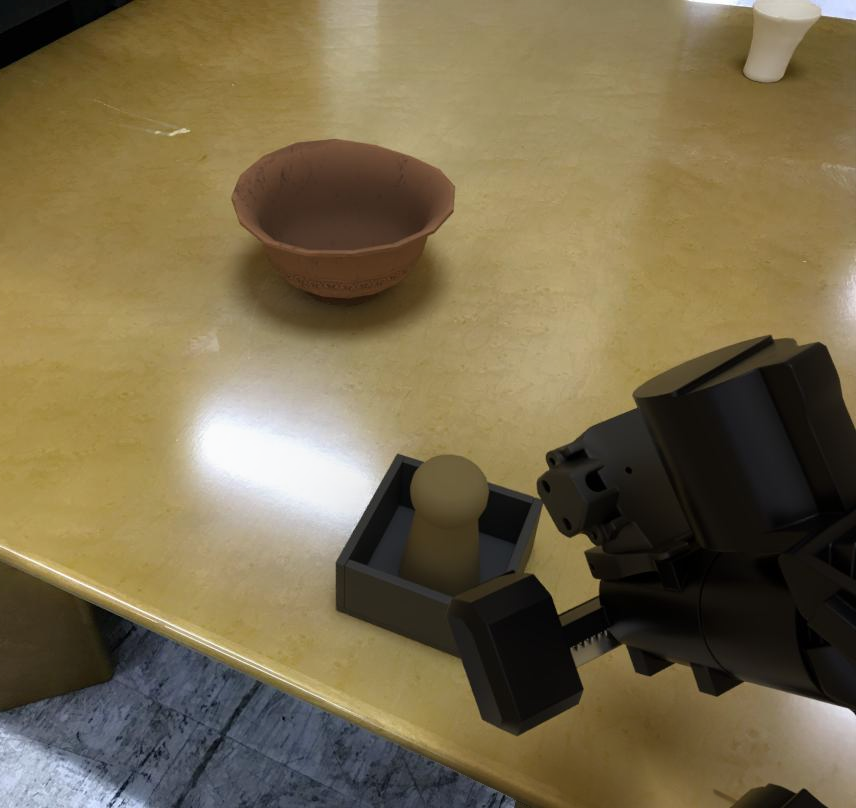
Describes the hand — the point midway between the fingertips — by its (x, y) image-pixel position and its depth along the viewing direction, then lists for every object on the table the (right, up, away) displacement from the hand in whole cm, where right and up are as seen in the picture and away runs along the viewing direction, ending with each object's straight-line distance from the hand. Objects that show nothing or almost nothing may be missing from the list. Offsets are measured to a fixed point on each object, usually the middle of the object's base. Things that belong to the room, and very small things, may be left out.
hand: (544, 574), depth 50 cm
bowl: (-10, +22, +45) cm, 51 cm away
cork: (-4, -3, +16) cm, 17 cm away
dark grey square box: (-4, -3, +17) cm, 17 cm away
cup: (+53, +57, +81) cm, 112 cm away
